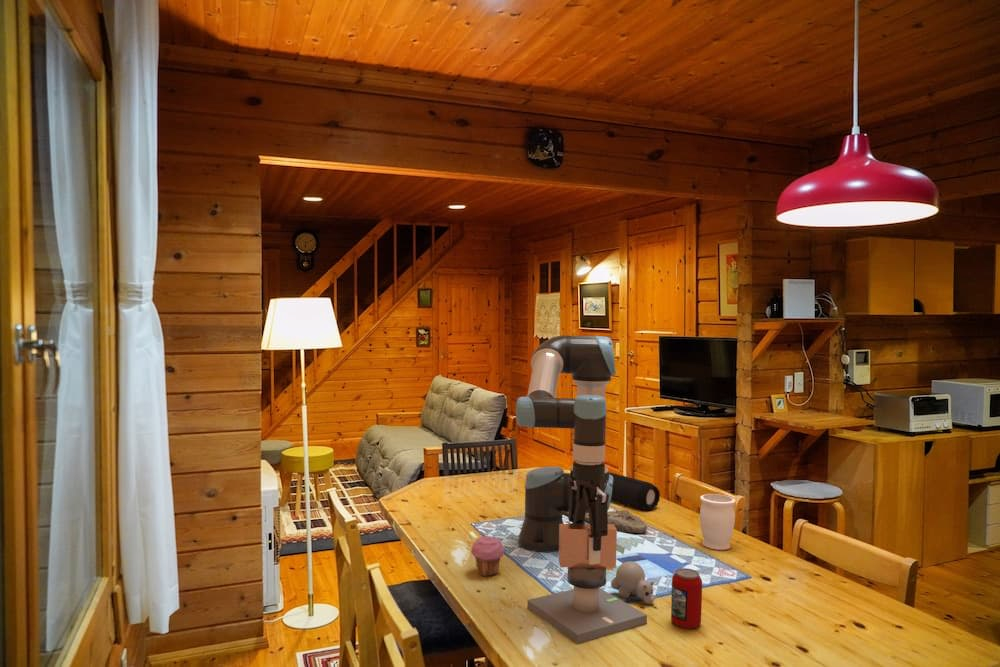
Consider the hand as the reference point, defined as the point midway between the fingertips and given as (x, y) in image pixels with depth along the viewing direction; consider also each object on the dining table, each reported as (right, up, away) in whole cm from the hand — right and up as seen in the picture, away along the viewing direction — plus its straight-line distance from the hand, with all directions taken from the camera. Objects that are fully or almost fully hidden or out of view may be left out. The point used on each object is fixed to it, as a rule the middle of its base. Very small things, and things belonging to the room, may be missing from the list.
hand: (586, 558), depth 160 cm
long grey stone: (+14, -12, +73) cm, 75 cm away
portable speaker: (+27, -11, +97) cm, 101 cm away
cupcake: (-24, -13, +25) cm, 37 cm away
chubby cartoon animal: (+13, -14, +11) cm, 22 cm away
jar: (+47, -13, +50) cm, 70 cm away
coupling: (0, -5, 0) cm, 5 cm away
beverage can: (+23, -14, -3) cm, 27 cm away
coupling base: (0, -14, 0) cm, 14 cm away
